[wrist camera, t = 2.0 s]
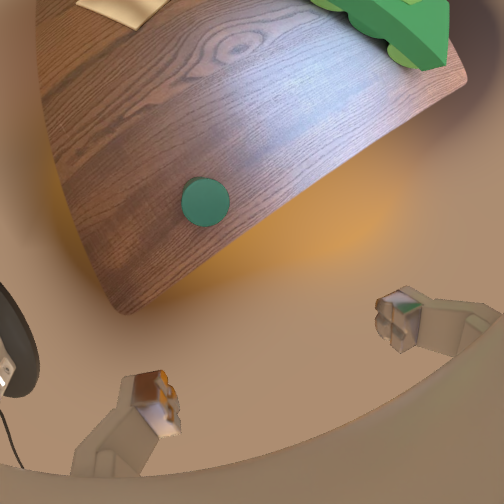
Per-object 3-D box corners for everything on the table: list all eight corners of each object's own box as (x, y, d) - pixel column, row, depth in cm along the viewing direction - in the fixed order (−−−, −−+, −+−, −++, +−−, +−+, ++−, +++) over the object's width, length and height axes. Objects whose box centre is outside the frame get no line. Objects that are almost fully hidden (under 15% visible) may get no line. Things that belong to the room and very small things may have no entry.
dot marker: (202, 214, 31) (211, 235, 21) (176, 196, 30) (171, 209, 20) (220, 188, 31) (239, 196, 21) (194, 170, 30) (200, 168, 19)
